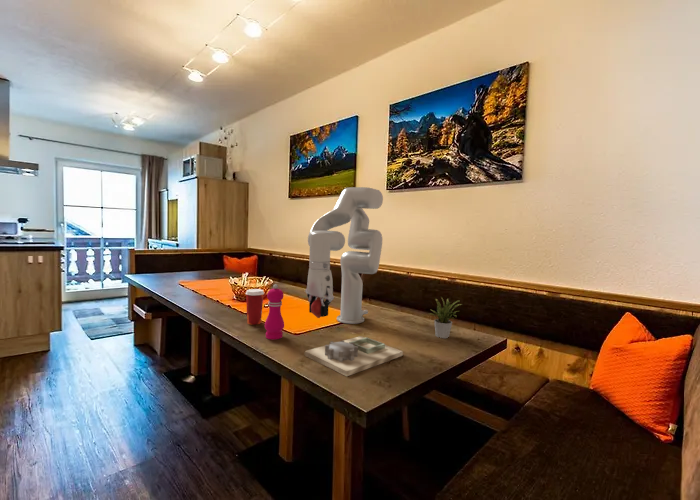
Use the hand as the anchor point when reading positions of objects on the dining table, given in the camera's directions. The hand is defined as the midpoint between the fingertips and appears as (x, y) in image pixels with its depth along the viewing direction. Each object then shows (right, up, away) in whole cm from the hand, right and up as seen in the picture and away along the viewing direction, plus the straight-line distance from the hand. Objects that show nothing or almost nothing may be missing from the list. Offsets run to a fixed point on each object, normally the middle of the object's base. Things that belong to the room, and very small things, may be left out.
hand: (318, 313), depth 127 cm
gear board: (+13, -12, -13) cm, 22 cm away
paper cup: (-29, -8, +19) cm, 36 cm away
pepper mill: (-17, -9, +2) cm, 20 cm away
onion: (0, -2, 0) cm, 2 cm away
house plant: (+50, -12, +12) cm, 53 cm away
